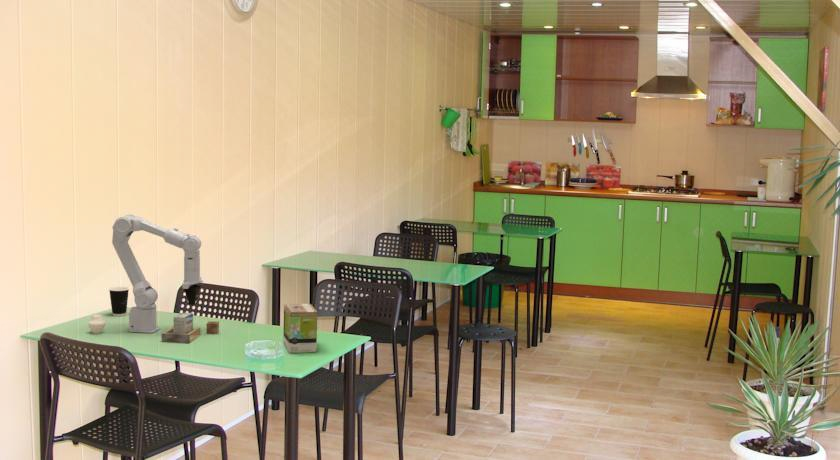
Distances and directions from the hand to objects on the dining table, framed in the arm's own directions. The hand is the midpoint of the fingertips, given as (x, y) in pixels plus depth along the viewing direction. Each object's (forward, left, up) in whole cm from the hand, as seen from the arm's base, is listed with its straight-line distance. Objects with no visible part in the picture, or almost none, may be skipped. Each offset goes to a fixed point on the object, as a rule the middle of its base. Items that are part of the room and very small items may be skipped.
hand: (192, 304), depth 341 cm
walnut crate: (+8, 0, -10) cm, 13 cm away
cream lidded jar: (-33, -9, -11) cm, 36 cm away
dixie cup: (-38, +21, -11) cm, 45 cm away
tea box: (+45, -15, -11) cm, 49 cm away
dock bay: (0, -11, -10) cm, 15 cm away
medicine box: (+1, -10, -11) cm, 15 cm away
